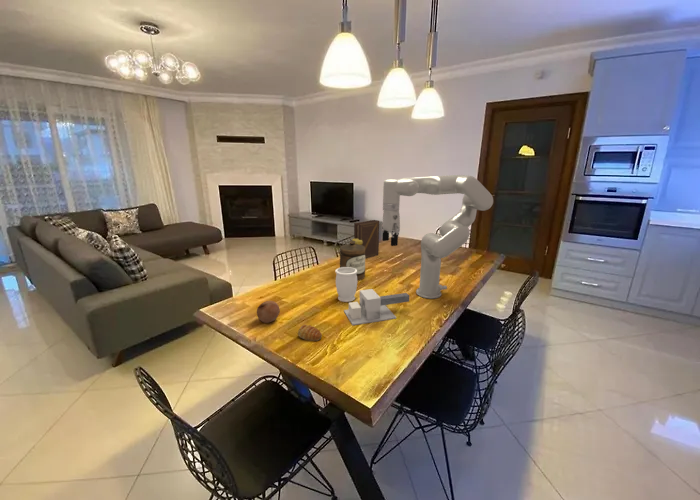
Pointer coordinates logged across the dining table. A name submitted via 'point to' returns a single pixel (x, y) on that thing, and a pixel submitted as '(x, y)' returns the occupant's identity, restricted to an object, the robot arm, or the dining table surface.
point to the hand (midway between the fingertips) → (389, 243)
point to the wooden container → (353, 258)
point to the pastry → (309, 333)
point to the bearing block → (371, 309)
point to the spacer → (354, 310)
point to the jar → (346, 283)
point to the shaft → (394, 299)
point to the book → (367, 236)
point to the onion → (268, 311)
